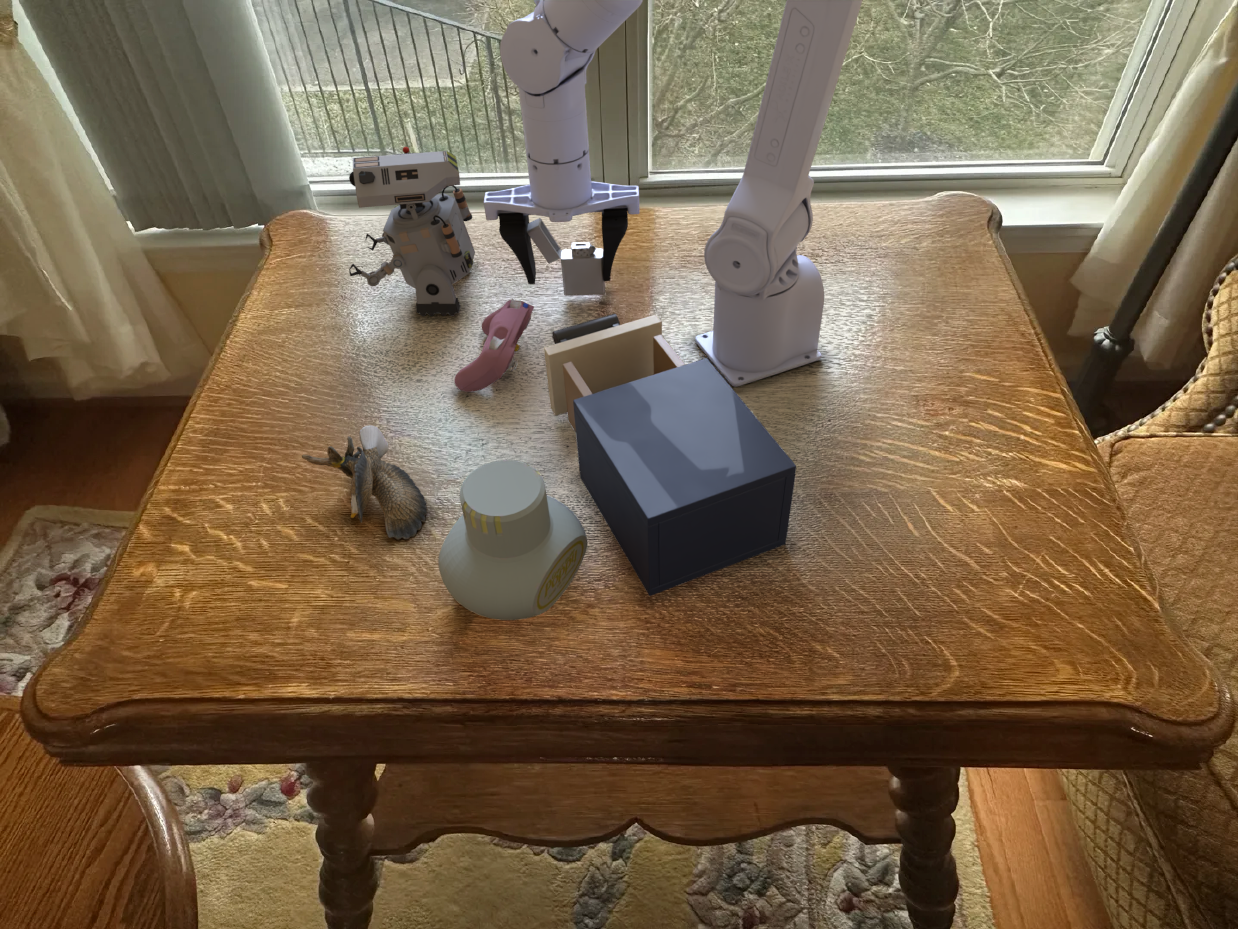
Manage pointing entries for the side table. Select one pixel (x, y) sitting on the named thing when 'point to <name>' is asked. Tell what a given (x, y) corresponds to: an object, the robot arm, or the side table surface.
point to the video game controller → (496, 346)
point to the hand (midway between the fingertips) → (569, 277)
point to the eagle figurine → (378, 483)
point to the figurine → (419, 223)
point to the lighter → (571, 261)
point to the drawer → (603, 358)
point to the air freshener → (510, 544)
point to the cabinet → (683, 474)
